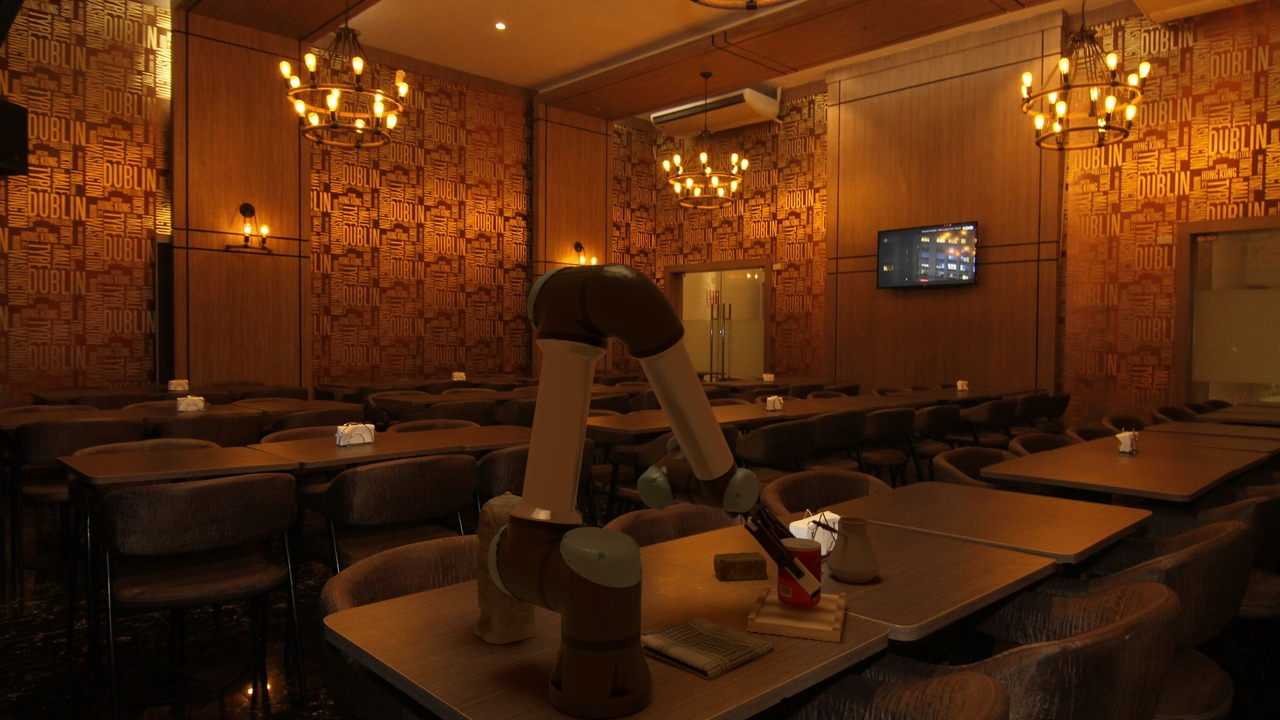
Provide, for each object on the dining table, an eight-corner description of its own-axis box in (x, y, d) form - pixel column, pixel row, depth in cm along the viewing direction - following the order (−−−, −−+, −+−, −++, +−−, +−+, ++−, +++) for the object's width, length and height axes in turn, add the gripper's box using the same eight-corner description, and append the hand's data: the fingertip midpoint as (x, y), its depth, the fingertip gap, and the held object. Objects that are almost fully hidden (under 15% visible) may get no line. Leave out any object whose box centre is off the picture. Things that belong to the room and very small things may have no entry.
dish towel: (778, 653, 132) (778, 634, 132) (708, 685, 119) (709, 664, 119) (695, 624, 145) (695, 607, 145) (625, 650, 133) (625, 631, 133)
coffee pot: (845, 567, 181) (846, 503, 181) (890, 578, 173) (891, 511, 172) (788, 585, 167) (788, 515, 167) (833, 599, 159) (834, 525, 158)
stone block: (712, 575, 175) (712, 552, 175) (760, 572, 178) (761, 550, 177) (719, 582, 170) (720, 559, 170) (770, 580, 172) (770, 557, 172)
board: (839, 642, 135) (839, 627, 135) (747, 631, 140) (747, 617, 140) (845, 606, 154) (845, 593, 154) (764, 597, 159) (764, 585, 159)
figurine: (511, 615, 148) (511, 483, 147) (547, 638, 136) (548, 495, 136) (462, 626, 142) (462, 489, 142) (496, 651, 130) (497, 501, 130)
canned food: (821, 609, 142) (822, 549, 142) (776, 605, 144) (777, 546, 144) (820, 596, 150) (820, 539, 150) (777, 593, 152) (778, 536, 151)
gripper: (729, 494, 161) (808, 580, 156) (707, 515, 142) (796, 613, 137) (755, 470, 159) (836, 556, 155) (736, 487, 140) (828, 586, 135)
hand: (817, 583), depth 146 cm, fingers closed on canned food, 8 cm apart
